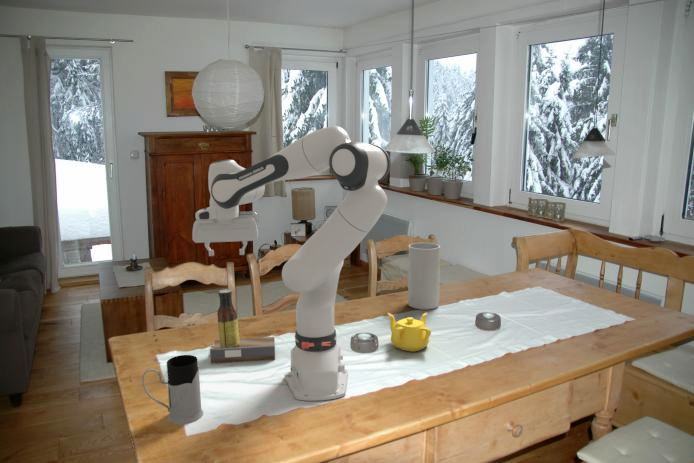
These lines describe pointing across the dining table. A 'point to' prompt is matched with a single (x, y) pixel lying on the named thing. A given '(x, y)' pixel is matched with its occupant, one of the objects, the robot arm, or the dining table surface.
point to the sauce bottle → (227, 321)
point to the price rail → (242, 352)
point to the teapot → (409, 333)
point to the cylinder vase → (423, 275)
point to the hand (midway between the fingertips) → (226, 255)
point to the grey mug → (182, 389)
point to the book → (246, 343)
